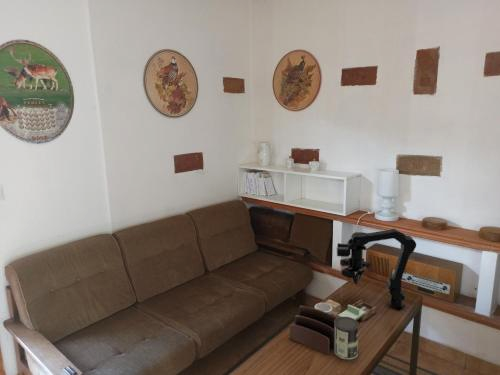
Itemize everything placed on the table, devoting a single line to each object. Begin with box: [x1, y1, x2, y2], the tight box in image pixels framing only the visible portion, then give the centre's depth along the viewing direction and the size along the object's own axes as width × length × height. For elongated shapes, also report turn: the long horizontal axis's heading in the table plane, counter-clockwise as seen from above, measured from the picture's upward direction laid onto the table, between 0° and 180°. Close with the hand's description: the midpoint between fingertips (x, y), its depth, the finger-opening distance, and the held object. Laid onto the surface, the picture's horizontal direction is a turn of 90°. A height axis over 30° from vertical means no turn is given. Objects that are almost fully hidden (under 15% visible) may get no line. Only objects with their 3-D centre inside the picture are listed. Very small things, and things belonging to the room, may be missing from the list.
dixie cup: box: [314, 302, 332, 315], centre depth 175 cm, size 8×8×10 cm
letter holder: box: [289, 305, 338, 355], centre depth 163 cm, size 10×20×14 cm, turn 53°
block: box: [324, 299, 342, 316], centre depth 188 cm, size 4×7×5 cm, turn 41°
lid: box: [337, 304, 366, 321], centre depth 178 cm, size 12×8×4 cm, turn 129°
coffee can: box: [333, 317, 360, 361], centre depth 155 cm, size 10×10×14 cm
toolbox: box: [350, 298, 378, 323], centre depth 184 cm, size 12×9×4 cm
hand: (355, 283), depth 191 cm, fingers closed
